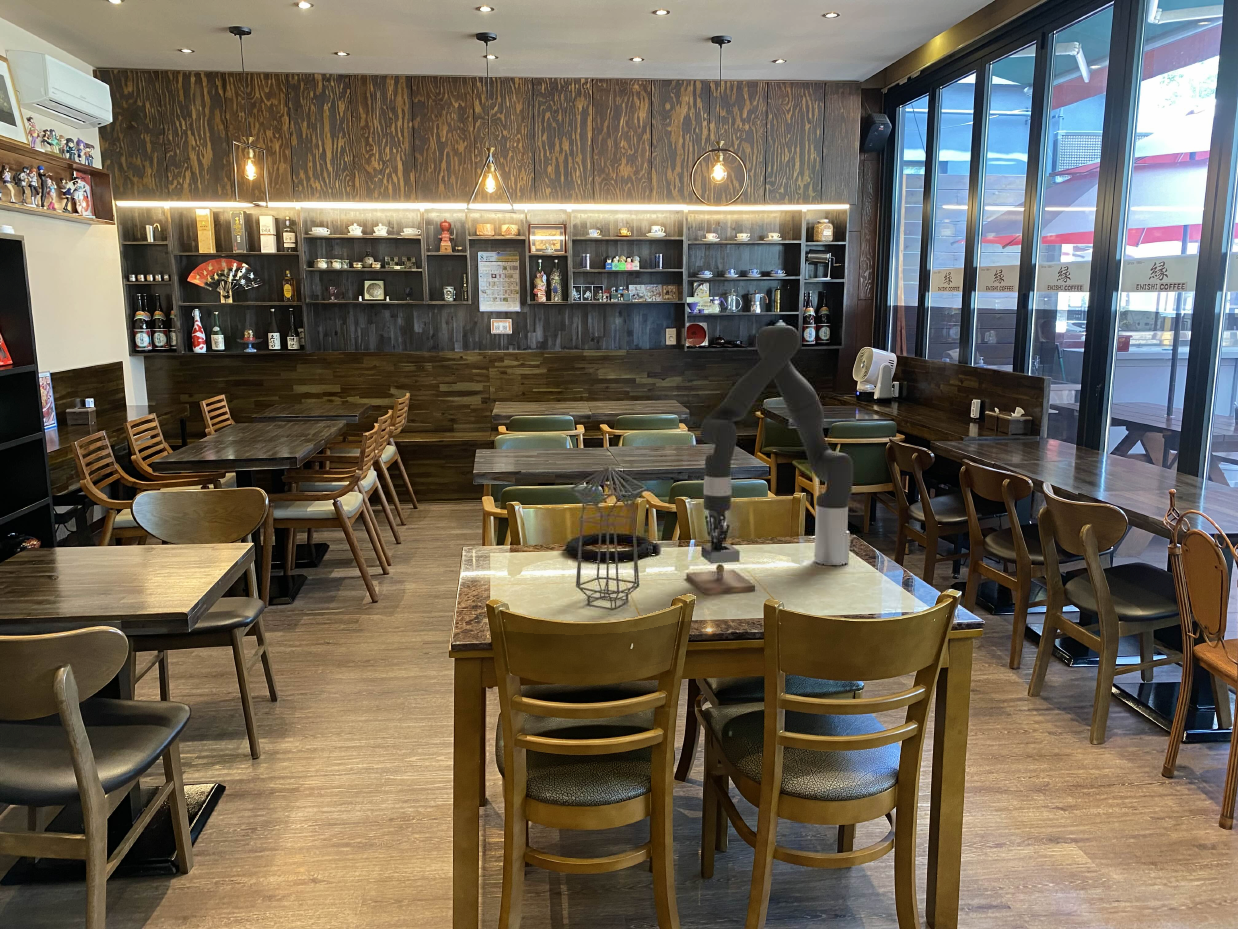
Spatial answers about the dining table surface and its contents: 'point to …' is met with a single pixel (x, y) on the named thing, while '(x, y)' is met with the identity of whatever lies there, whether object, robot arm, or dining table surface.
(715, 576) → the keeper block
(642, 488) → the geometric lantern
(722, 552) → the grey square frame
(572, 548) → the black studded ring
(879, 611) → the dining table surface
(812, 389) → the robot arm
